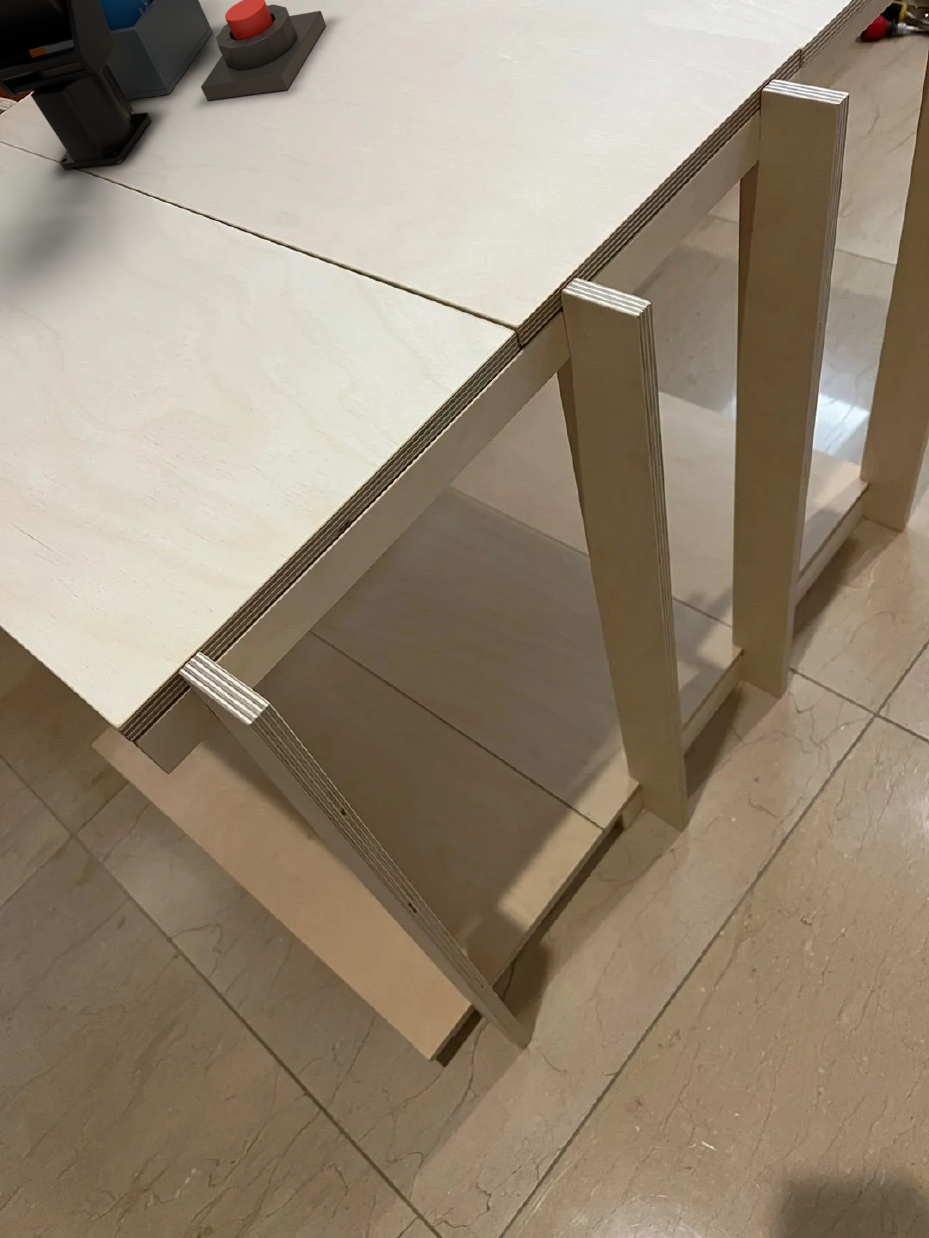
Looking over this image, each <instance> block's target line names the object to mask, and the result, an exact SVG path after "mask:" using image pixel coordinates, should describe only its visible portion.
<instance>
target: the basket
mask: <svg viewBox="0 0 929 1238" xmlns="http://www.w3.org/2000/svg"><path fill="white" fill-rule="evenodd" d="M149 1H150V3H151V4H150V6H149V7H148V8H147V9H146V11H145V12H144V13H143V15H142V16H141V17H140V18H139V20H138V21H137V22H136V24H135V25H134V26H133V27H130V28H124V29H118V30H113V31H110V32H111V34H112V37H113V40H114V43H115V48H114V50H113V52H112V53H111V55H110V57H109V59H108V61H107V62H106V64H107V65H108V67H109V68H110V70H111V72H112V74H113V75H114V77H115V79H116V81H117V82H118V84H119V86H120V88H121V90H122V91H123V93H124V95H125V97H126V98H127V100H128V101H131V100H137V99H146V98H152V97H160V96H167V95H170V94H171V92H172V91H173V90H174V88H175V87H176V86H177V84H178V83H179V81H180V80H181V78H182V77H183V75H184V74H185V73H186V71H187V70H188V68H189V67H190V65H191V64H192V63H193V61H194V59H196V57H197V56H198V54H199V52H200V51H201V49H202V48H203V47H204V45H205V44H206V42H207V41H208V40H209V38H210V37H211V36H212V34H213V33H214V31H213V29H212V26H211V24H210V22H209V20H208V18H207V16H206V13H205V11H204V9H203V7H202V5H201V3H200V0H149ZM70 47H74V45H73V40H69V41H65V42H61V43H58V44H54V45H50V46H46V47H43V49H44V51H45V53H46V54H47V53H51V52H55V51H58V50H62V49H66V48H70Z"/></svg>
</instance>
